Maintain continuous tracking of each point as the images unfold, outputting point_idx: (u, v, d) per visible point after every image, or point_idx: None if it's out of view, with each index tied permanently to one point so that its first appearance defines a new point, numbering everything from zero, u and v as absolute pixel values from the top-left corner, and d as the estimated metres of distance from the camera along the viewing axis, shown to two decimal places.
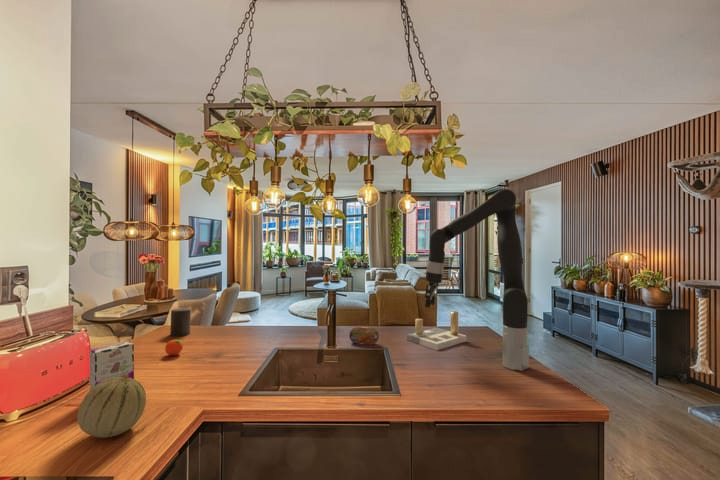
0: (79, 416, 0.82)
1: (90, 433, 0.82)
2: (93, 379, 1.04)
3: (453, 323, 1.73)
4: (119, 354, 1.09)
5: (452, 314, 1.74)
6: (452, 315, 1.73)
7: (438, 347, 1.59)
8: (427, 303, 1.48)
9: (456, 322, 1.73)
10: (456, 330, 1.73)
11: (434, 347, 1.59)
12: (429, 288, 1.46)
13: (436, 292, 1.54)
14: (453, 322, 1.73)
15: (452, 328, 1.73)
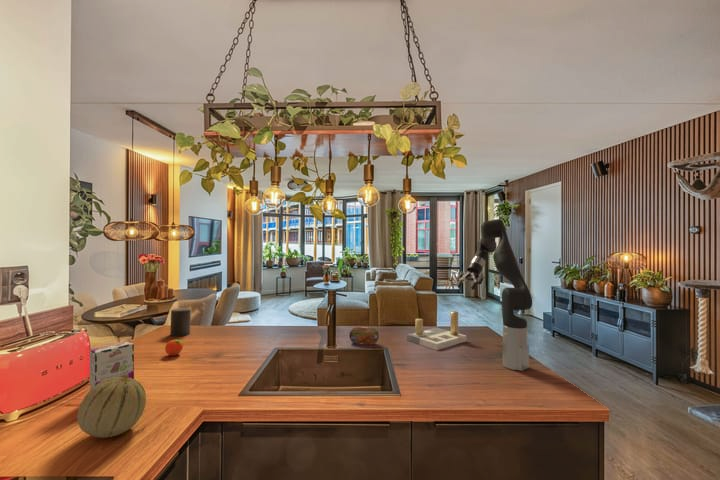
0: (79, 416, 0.82)
1: (90, 433, 0.82)
2: (94, 379, 1.04)
3: (453, 323, 1.73)
4: (119, 354, 1.09)
5: (452, 314, 1.74)
6: (452, 315, 1.73)
7: (438, 347, 1.59)
8: (458, 284, 1.87)
9: (456, 322, 1.73)
10: (456, 330, 1.73)
11: (434, 347, 1.59)
12: None
13: (472, 277, 1.82)
14: (453, 322, 1.73)
15: (452, 328, 1.73)
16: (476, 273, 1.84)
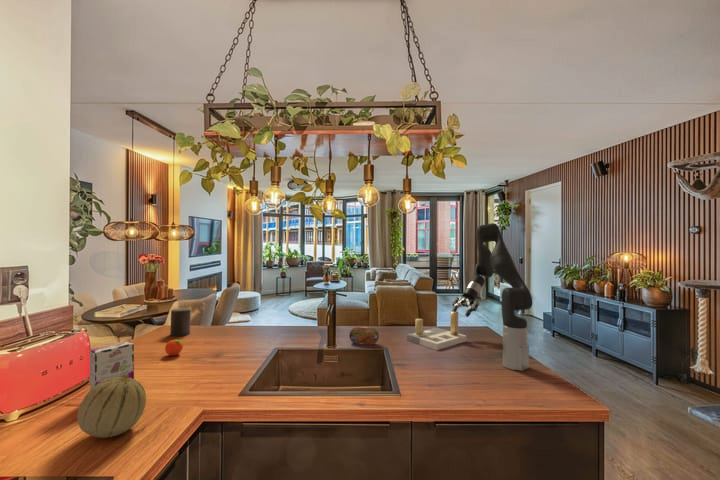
0: (79, 416, 0.82)
1: (90, 433, 0.82)
2: (93, 379, 1.04)
3: (453, 323, 1.73)
4: (119, 354, 1.09)
5: (452, 314, 1.74)
6: (452, 315, 1.73)
7: (438, 347, 1.59)
8: None
9: (456, 322, 1.73)
10: (456, 330, 1.73)
11: (434, 347, 1.59)
12: None
13: (467, 304, 1.77)
14: (453, 322, 1.73)
15: (452, 328, 1.73)
16: (471, 299, 1.79)
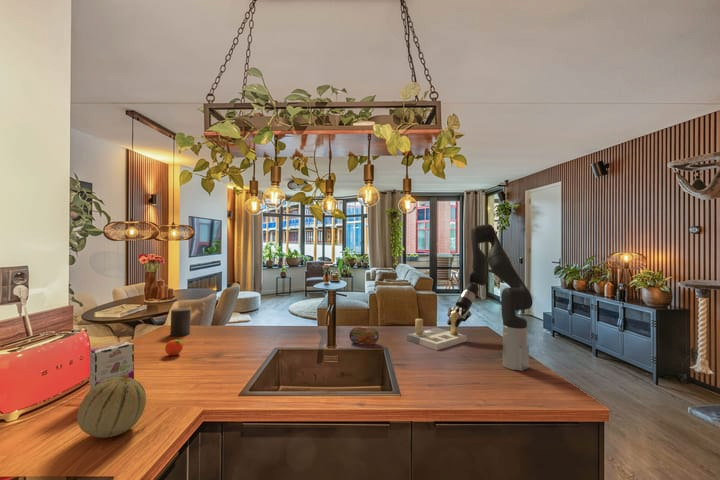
0: (79, 416, 0.82)
1: (90, 433, 0.82)
2: (93, 379, 1.04)
3: (453, 323, 1.73)
4: (119, 354, 1.09)
5: (452, 314, 1.74)
6: (452, 315, 1.73)
7: (438, 347, 1.59)
8: None
9: None
10: (456, 330, 1.73)
11: (434, 347, 1.59)
12: None
13: (458, 313, 1.75)
14: (453, 322, 1.73)
15: (452, 328, 1.73)
16: (465, 308, 1.75)
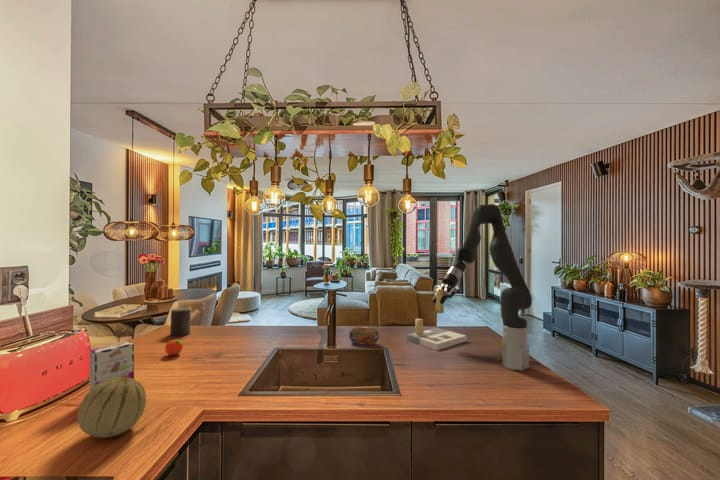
0: (79, 416, 0.82)
1: (90, 433, 0.82)
2: (94, 379, 1.04)
3: (438, 300, 1.66)
4: (119, 354, 1.09)
5: (437, 291, 1.66)
6: (437, 292, 1.66)
7: (438, 347, 1.59)
8: None
9: None
10: (441, 307, 1.65)
11: (434, 347, 1.59)
12: None
13: (444, 290, 1.67)
14: (438, 299, 1.66)
15: (437, 305, 1.66)
16: (451, 285, 1.68)
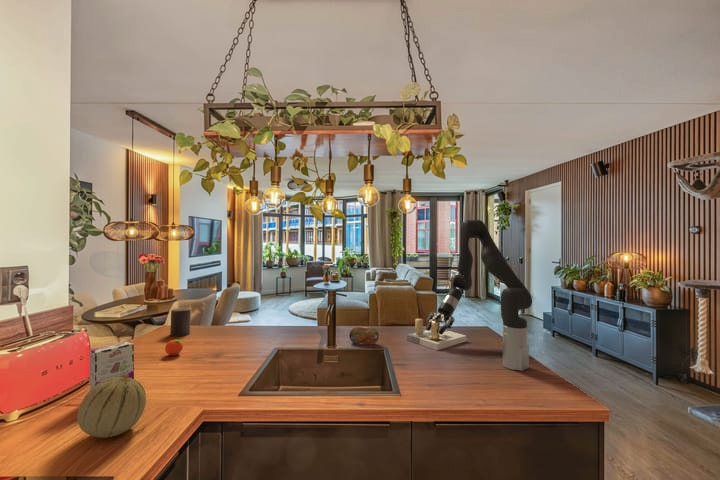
0: (79, 416, 0.82)
1: (90, 433, 0.82)
2: (94, 379, 1.04)
3: (434, 334, 1.64)
4: (119, 354, 1.09)
5: (433, 324, 1.64)
6: (433, 325, 1.64)
7: (438, 347, 1.59)
8: None
9: (437, 332, 1.64)
10: (437, 341, 1.64)
11: (434, 347, 1.59)
12: None
13: (442, 320, 1.64)
14: (434, 332, 1.64)
15: (433, 339, 1.64)
16: (446, 315, 1.66)
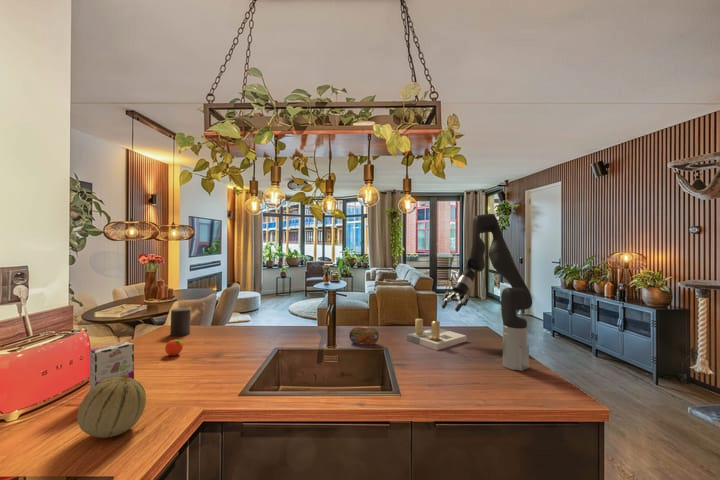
0: (79, 416, 0.82)
1: (90, 433, 0.82)
2: (93, 379, 1.04)
3: (434, 333, 1.64)
4: (119, 354, 1.09)
5: (433, 324, 1.64)
6: (433, 325, 1.64)
7: (438, 347, 1.59)
8: None
9: (437, 332, 1.64)
10: (437, 341, 1.64)
11: (434, 347, 1.59)
12: None
13: (457, 298, 1.72)
14: (434, 332, 1.64)
15: (433, 339, 1.64)
16: (461, 294, 1.74)
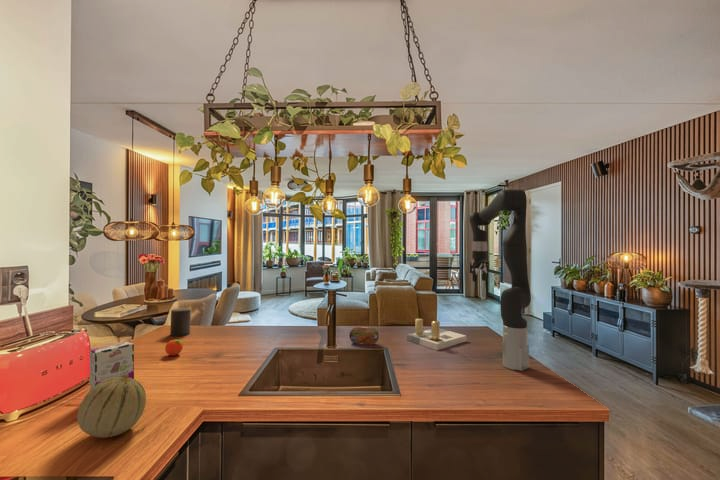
0: (79, 416, 0.82)
1: (90, 433, 0.82)
2: (93, 379, 1.04)
3: (434, 334, 1.64)
4: (119, 354, 1.09)
5: (433, 324, 1.64)
6: (433, 325, 1.64)
7: (438, 347, 1.59)
8: (473, 278, 1.68)
9: (437, 332, 1.64)
10: (437, 341, 1.64)
11: (434, 347, 1.59)
12: (472, 264, 1.67)
13: (485, 269, 1.72)
14: (434, 332, 1.64)
15: (433, 339, 1.64)
16: (484, 262, 1.73)
